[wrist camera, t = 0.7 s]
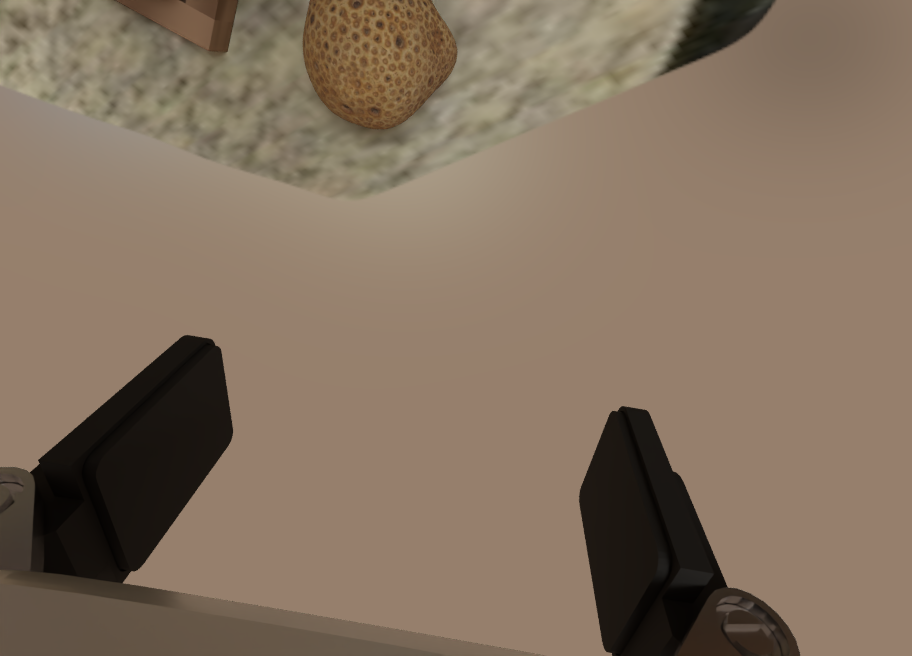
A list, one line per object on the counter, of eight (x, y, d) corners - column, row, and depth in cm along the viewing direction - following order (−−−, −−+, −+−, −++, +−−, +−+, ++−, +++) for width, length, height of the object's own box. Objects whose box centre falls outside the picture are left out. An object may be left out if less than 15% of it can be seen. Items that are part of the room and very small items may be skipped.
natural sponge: (305, 16, 33) (233, -1, 24) (413, -63, 30) (376, -113, 21) (374, 139, 36) (333, 162, 28) (476, 78, 34) (466, 84, 25)
